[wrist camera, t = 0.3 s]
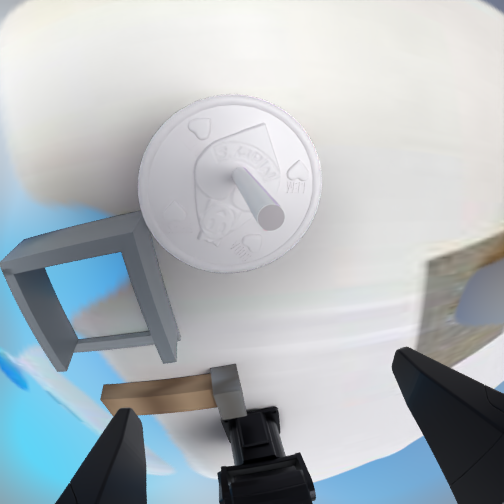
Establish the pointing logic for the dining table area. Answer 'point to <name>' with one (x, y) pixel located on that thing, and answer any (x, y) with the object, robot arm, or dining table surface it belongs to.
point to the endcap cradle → (82, 247)
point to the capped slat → (180, 394)
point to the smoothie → (229, 183)
